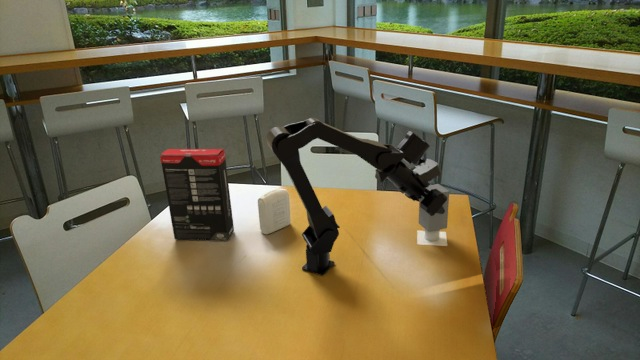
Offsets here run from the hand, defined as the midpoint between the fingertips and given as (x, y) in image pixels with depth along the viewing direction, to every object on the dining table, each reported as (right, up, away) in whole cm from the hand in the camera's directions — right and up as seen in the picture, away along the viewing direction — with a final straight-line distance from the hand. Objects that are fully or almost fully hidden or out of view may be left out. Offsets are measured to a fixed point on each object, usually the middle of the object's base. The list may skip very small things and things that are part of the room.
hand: (437, 208), depth 130 cm
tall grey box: (-1, -5, +1) cm, 5 cm away
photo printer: (-46, -7, +16) cm, 49 cm away
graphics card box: (-67, -10, +13) cm, 68 cm away
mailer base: (-1, -10, +3) cm, 10 cm away
